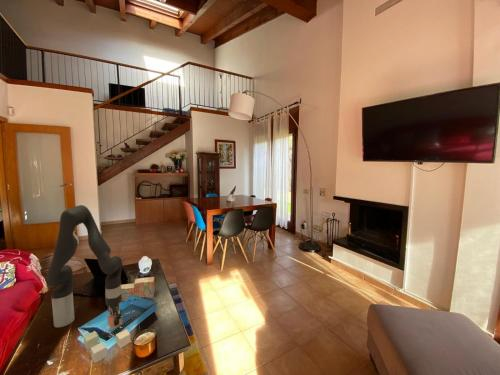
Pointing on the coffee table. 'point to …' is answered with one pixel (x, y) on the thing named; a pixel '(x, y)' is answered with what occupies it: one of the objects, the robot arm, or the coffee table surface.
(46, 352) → the coffee table surface
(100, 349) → the beige cube
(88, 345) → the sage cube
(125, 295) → the stack of blocks
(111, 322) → the terracotta cube
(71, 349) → the coffee table surface
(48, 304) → the coffee table surface
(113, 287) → the robot arm
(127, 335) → the cream cube
